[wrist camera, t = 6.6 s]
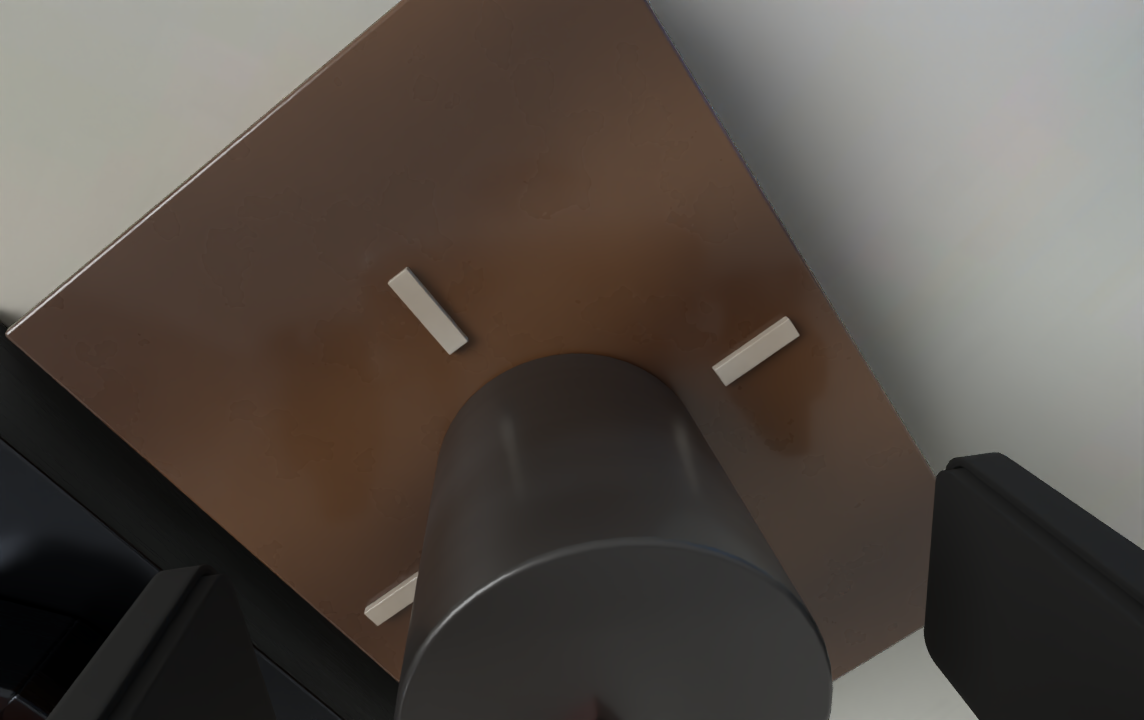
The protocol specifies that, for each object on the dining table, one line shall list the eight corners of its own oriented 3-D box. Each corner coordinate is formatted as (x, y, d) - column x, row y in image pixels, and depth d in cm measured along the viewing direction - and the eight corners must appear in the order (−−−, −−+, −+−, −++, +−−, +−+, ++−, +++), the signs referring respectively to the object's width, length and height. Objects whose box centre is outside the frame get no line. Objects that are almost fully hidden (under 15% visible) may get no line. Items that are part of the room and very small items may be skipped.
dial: (597, 295, 11) (682, 467, 6) (751, 489, 12) (926, 760, 7) (378, 464, 11) (283, 751, 6) (549, 630, 13) (582, 969, 8)
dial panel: (914, 498, 16) (1007, 587, 13) (563, 721, 17) (575, 847, 15) (549, -81, 12) (567, -143, 9) (108, 283, 13) (-9, 338, 10)
